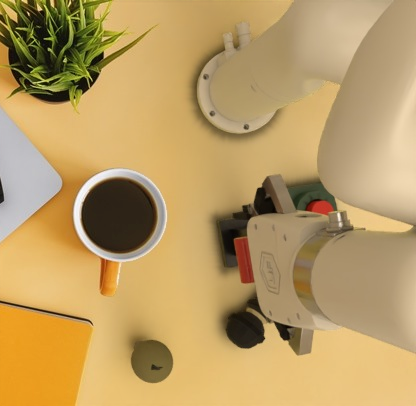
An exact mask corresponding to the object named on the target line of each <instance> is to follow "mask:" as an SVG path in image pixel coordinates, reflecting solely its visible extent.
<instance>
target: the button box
mask: <svg viewBox="0 0 416 406" xmlns="http://www.w3.org/2000/svg"><path fill="white" fill-rule="evenodd" d="M287 190H288V192H289V194H290V197H291V199H292V201H293V204H294V206H295V208H296V210H300V211H306V208H307V206H308V205H309V204H310V203H311V202H313V201H327V202H328V203H330V204H331V206H332V207H333V211H339V210H338V204H337V202H336V198H335V197H334V196H333V195H331V194H330V193H329V192H328V191H327V190H326V189H325V187H324V186H323V184H322V182H321V181H320V182H316V183H310V184H309V183H308V184H304V185H297V186H292V187H287Z"/></svg>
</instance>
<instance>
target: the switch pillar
mask: <svg viewBox="0 0 416 406" xmlns="http://www.w3.org/2000/svg"><path fill="white" fill-rule="evenodd" d="M248 222H249V220H235V218H233V217H230V218H225V219H220V220H216V225H217V231H218V237H219V242H220V250H221V254H222V260H223V266H224V268H233V267H234V268H235V267H238V261H237V255H236V250H235V244H234V239H235V238H239V237H247V225H248Z"/></svg>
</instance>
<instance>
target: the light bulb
mask: <svg viewBox="0 0 416 406" xmlns="http://www.w3.org/2000/svg"><path fill="white" fill-rule="evenodd" d="M173 357H174V356H173V354H172V352H171V350H170V348H169V347H168V346H167V345H166V344H165V343H163V342H161V341H160V340H156V339H146V340H139V341H136V343H135V344H134V346H133V350H132V352H131V356H130V366H131V369H132V371H133V372H134V374H135V376H136V377H137V378H139V380H141V381H142V382H145V383H148V384H157V383H162V382H163V381H165V380H166V379H168V378H169V376H170V375H171V373H172V371H173V368H174V358H173Z"/></svg>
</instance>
